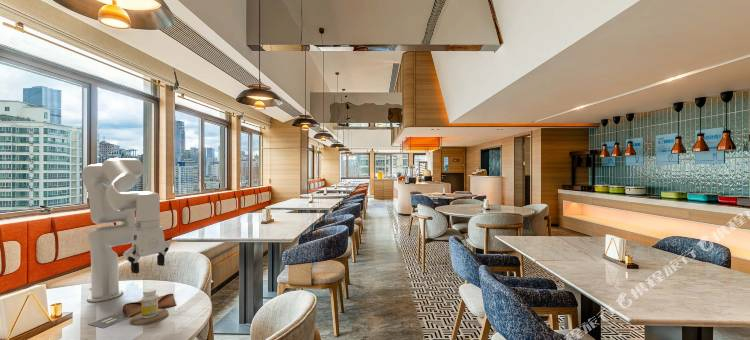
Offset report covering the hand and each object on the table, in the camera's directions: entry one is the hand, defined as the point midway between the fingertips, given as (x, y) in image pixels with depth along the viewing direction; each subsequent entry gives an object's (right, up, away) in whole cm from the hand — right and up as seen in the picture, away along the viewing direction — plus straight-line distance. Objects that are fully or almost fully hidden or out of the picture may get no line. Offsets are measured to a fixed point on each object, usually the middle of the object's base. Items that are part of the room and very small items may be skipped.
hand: (148, 269), depth 125 cm
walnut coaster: (0, -19, 0) cm, 19 cm away
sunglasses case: (-5, -20, +8) cm, 22 cm away
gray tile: (-13, -19, -2) cm, 23 cm away
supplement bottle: (0, -18, 0) cm, 18 cm away
